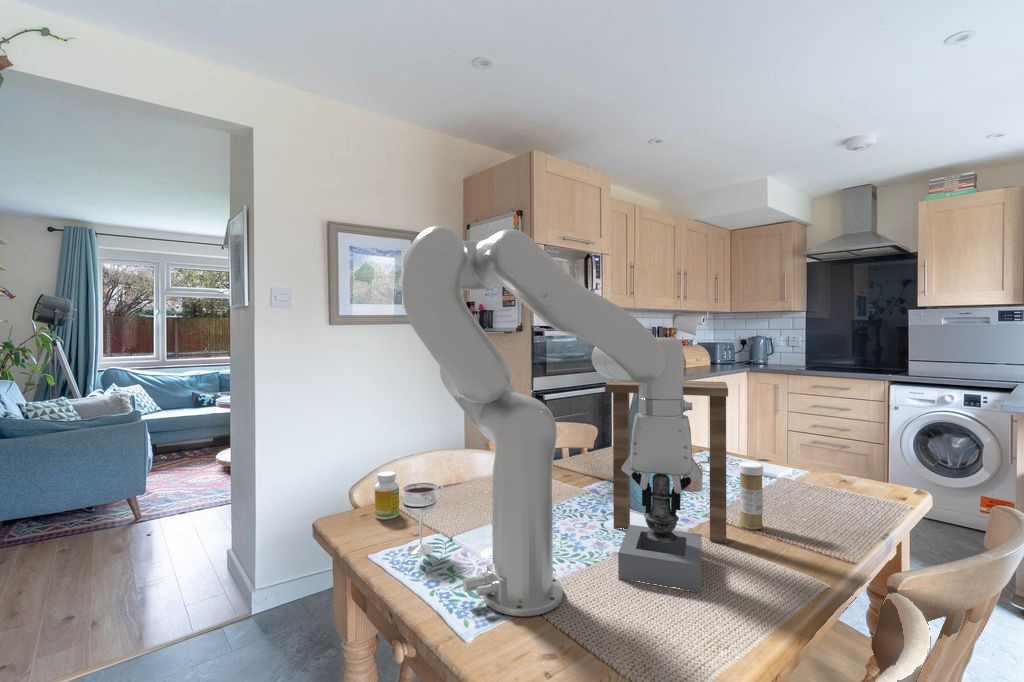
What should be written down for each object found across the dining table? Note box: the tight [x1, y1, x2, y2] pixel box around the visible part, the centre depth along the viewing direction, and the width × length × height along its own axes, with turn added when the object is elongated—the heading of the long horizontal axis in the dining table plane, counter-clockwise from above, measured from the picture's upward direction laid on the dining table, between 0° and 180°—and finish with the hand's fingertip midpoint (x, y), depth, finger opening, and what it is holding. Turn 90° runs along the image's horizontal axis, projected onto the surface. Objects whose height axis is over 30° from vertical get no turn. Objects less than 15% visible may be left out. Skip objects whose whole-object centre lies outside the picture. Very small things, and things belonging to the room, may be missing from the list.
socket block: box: [617, 524, 703, 594], centre depth 86 cm, size 13×13×4 cm
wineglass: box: [402, 482, 439, 557], centre depth 94 cm, size 7×7×12 cm
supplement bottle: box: [374, 471, 400, 520], centre depth 112 cm, size 5×5×10 cm
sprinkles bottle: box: [738, 461, 764, 531], centre depth 104 cm, size 5×5×14 cm
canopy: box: [604, 379, 729, 545], centre depth 97 cm, size 12×22×32 cm, turn 68°
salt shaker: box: [643, 473, 679, 543], centre depth 86 cm, size 6×6×12 cm
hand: (661, 510), depth 86 cm, fingers closed on salt shaker, 3 cm apart
